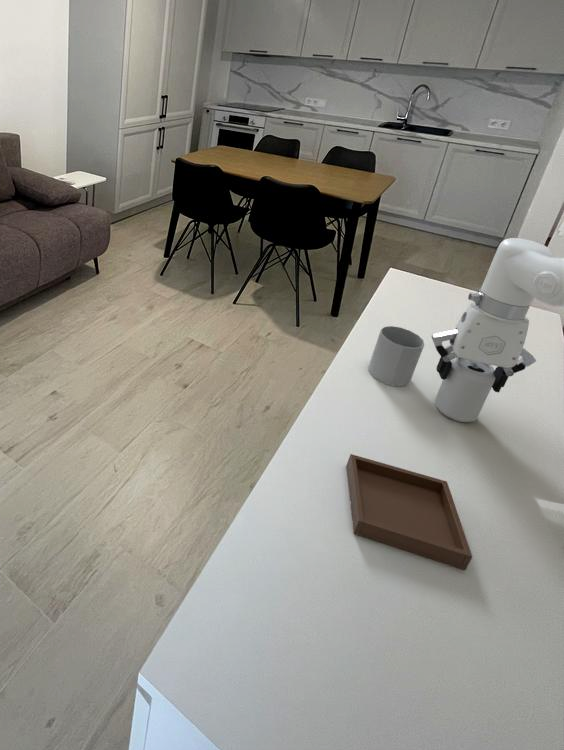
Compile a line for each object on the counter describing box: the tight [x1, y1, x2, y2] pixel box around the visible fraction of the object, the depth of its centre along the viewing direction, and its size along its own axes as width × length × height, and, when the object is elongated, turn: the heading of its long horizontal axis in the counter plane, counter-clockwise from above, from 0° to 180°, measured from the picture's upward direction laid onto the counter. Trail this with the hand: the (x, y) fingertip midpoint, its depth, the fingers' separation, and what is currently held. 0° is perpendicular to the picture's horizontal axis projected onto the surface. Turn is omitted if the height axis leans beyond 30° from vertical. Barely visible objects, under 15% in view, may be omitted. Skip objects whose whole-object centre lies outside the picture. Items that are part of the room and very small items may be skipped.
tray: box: [345, 453, 473, 571], centre depth 77 cm, size 15×14×3 cm
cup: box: [367, 325, 425, 388], centre depth 108 cm, size 8×8×10 cm
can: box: [434, 356, 496, 423], centre depth 98 cm, size 8×8×12 cm
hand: (467, 381), depth 97 cm, fingers open, 8 cm apart
